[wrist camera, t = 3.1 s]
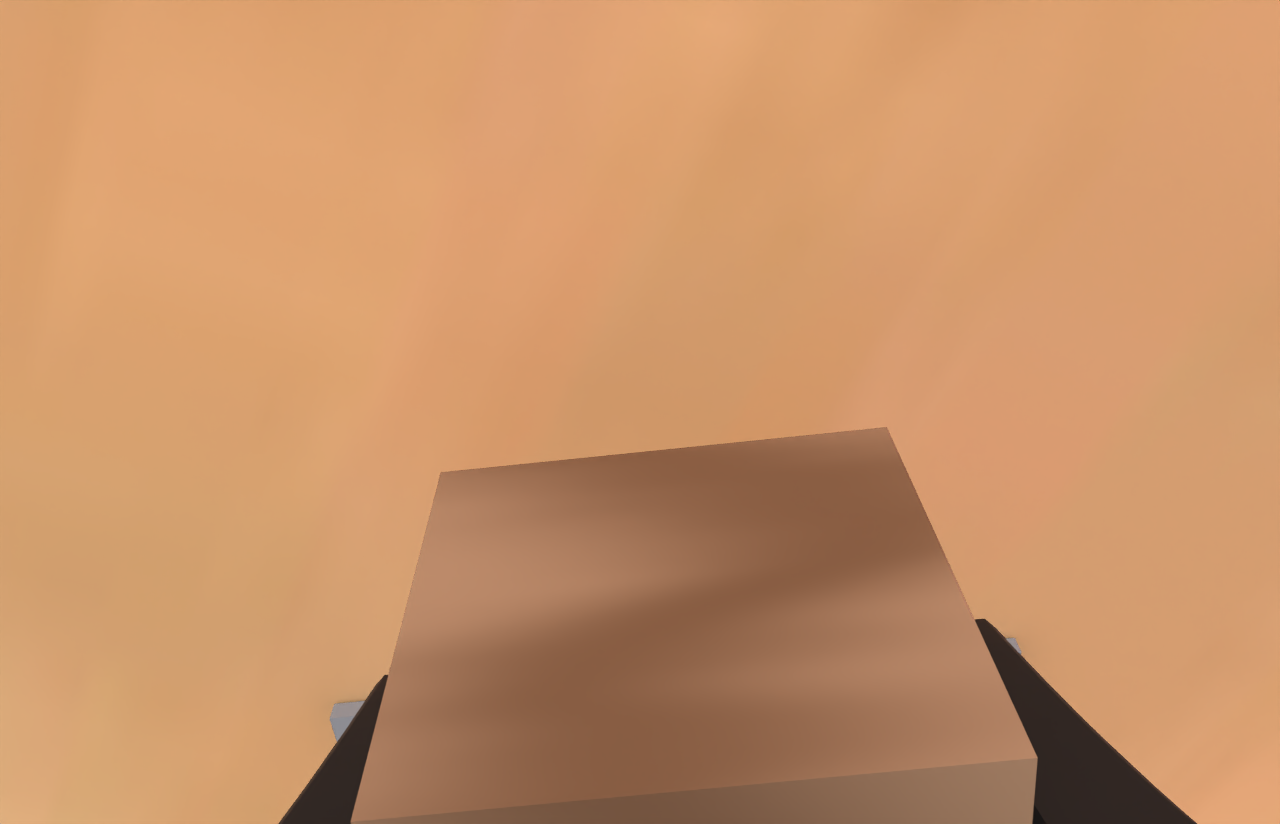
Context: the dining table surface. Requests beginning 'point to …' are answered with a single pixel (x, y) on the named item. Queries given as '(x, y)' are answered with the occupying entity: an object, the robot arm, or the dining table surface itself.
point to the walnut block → (693, 650)
